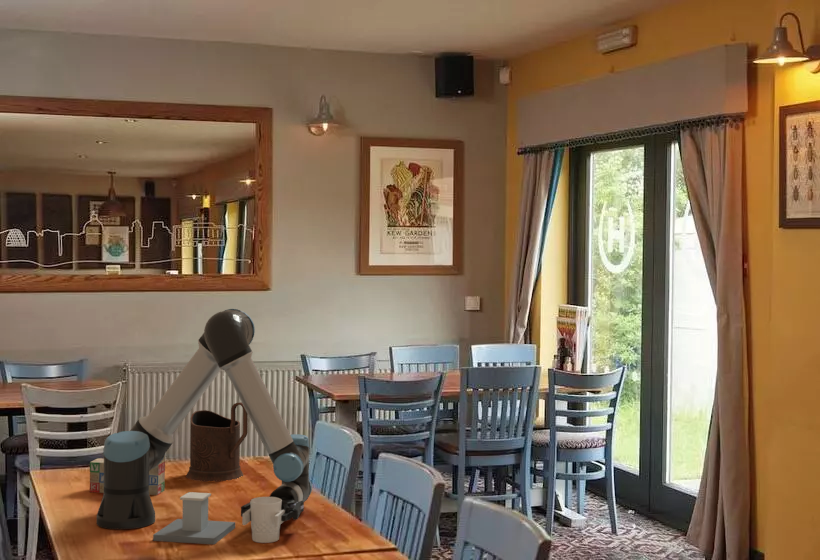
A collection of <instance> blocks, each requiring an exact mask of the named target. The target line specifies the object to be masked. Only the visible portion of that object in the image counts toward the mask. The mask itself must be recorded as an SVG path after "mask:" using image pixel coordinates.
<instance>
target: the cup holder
mask: <svg viewBox="0 0 820 560" xmlns="http://www.w3.org/2000/svg"><path fill="white" fill-rule="evenodd" d="M238 406H240V407H242V411H243V412H242V420H243V421H242V434H241V422H240V421H239V420H236V419H237V417H236V412H237V411H236V409H237V408H238ZM230 408H231V409H230V418H228V417H225V416H223V415H221V414H219V413H216V412H213V411H211V410H206V409H204V410H196V411H194V412H193V413H192V414H191V417H190V445H189V447H190V448H189V449H190V450H189V451H190V453H189V454H190V455H189V456H190V459H189V466H188V467H189V468H188V472H186V475H185V477H186V478H187V479H188V480H191V481H197V482H208V481H215V482H227V481H226V480H228V481H233V480H232V479H234V480H238V479H240V478H239V477H241V476H242V477H243V476H244V473H243V471H242V469H241V464H240V460H241V459H240V456H241V455H240V453H241V451H240V448H241V447H240V446H241V444H242V443H243V441H244V440H245V439H246V438H247V435H248V426H249V425H248V424H249V423H248V422H249V421H248V420H249V419H248V418H249V416H248V414H247V412H246V410H245V408H244V406H243V404H242V402H241V401H239V402H236V403H233V404H232V406H231V407H230ZM240 435H241V436H240ZM242 477H241V478H242ZM237 478H238V479H237Z"/></svg>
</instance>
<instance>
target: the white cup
mask: <svg viewBox="0 0 820 560" xmlns="http://www.w3.org/2000/svg"><path fill="white" fill-rule="evenodd" d="M249 503H250V507H251V521H250V526H251V527H250V528H251V539H252V541H253V542H255V543H258V544H267V543H269V544H271V543H274V542H278V540H280V530H281V524H280V525H279V526H278V527H275V515H277V514H278V513H279V512H280V511H281V505H282V500H281V499H280V498H277V497H269V496H258V497H254V498H251V499H250V502H249Z"/></svg>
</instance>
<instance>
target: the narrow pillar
mask: <svg viewBox="0 0 820 560" xmlns="http://www.w3.org/2000/svg"><path fill="white" fill-rule="evenodd" d="M211 496H212V492H211V493H210V492H209V493H208V492H195V491H194V492H193V491H191V492H190V491H188V492H187V493H184V494H183V495H182V496H180V497H179V500H181V501H182V518H177V519H174V520H173V521H172V522H170V523H169V524H167V525H165V526H163V528H161V529H160V530H158V531H157V532H155V533H153V534H152V541H154V542H168V543H170V542H171V543H185V544H187V543H188V544H199V545H201V544H202V545H216V544H217V543H218V542H219V541H221V540H222V539H223V538H225V537H226V536H227V535H228V534H230V533H231V532H232V531H233V530H235V529H236V521H225V520H224V521H221V520H209V497H211Z"/></svg>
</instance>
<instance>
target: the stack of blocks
mask: <svg viewBox="0 0 820 560" xmlns="http://www.w3.org/2000/svg"><path fill="white" fill-rule="evenodd" d="M165 474H166V455H165V456H164V458H163V460H162V461H161V462H160V463H159V464H158V465H157V466H156V467H154V468H153V469H151V470H150V471H149V495H150V496H159V495H160V494H161V493H163V492H164V491H165V490H166V489H165V487H166V486H165V485H166V484H165V483H166V482H165V480H166V478H165V476H166V475H165ZM89 493H99V494H104V457H103V458H102V457H100V458H98V457H97V458H96V459H94V460H92V461H90V462H89Z"/></svg>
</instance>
